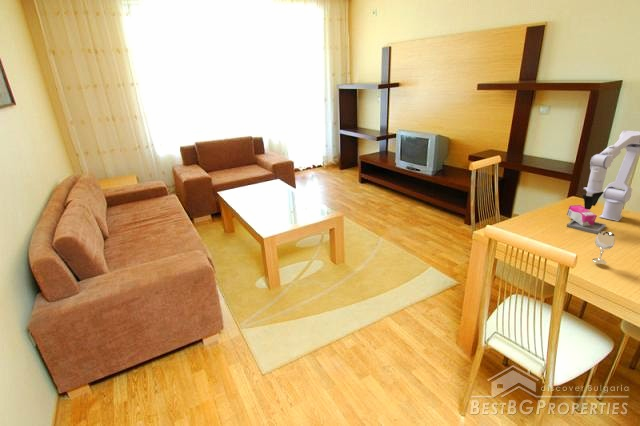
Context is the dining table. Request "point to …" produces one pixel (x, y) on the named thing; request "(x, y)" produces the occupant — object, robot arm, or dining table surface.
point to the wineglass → (604, 244)
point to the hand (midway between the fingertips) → (589, 207)
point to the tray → (587, 227)
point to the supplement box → (581, 215)
